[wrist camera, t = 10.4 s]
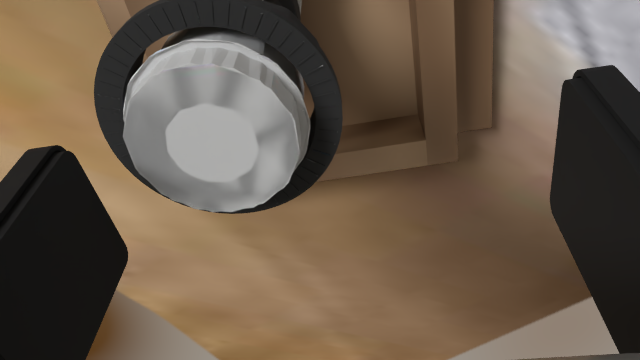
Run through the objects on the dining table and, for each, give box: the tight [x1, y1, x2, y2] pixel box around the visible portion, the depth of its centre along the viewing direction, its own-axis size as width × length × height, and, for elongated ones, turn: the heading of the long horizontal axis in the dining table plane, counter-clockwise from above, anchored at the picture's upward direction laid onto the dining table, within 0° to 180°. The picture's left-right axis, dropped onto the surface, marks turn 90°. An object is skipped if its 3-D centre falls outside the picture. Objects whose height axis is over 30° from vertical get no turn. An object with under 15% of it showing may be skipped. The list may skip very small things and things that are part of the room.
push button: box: [94, 0, 343, 214], centre depth 15 cm, size 7×5×10 cm
